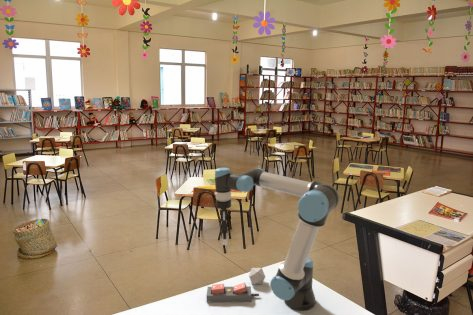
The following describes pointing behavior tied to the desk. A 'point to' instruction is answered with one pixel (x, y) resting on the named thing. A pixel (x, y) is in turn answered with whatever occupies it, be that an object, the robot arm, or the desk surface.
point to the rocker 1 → (217, 288)
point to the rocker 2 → (240, 288)
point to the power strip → (230, 295)
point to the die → (256, 276)
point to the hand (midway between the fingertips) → (224, 244)
